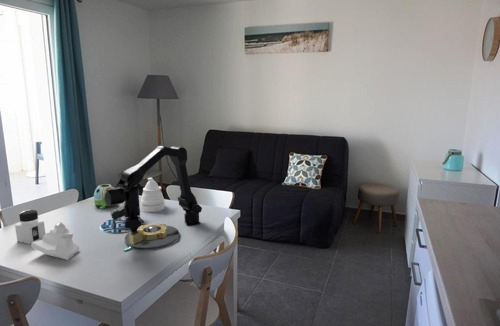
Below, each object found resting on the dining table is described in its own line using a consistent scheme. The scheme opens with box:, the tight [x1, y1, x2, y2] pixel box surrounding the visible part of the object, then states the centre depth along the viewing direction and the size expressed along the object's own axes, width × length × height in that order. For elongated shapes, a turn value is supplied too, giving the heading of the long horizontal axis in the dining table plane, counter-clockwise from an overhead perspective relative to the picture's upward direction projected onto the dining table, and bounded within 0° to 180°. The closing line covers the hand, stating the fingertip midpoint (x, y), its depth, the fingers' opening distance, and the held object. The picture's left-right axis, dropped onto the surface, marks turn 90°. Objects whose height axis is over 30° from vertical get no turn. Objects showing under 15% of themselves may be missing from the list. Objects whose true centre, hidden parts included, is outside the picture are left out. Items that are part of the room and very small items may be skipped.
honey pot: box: [140, 177, 166, 213], centre depth 184 cm, size 13×13×18 cm
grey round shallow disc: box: [123, 224, 180, 253], centre depth 145 cm, size 23×23×5 cm
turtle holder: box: [93, 183, 119, 210], centre depth 188 cm, size 12×18×12 cm
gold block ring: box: [129, 222, 167, 244], centre depth 144 cm, size 19×15×4 cm
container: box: [14, 209, 46, 245], centre depth 143 cm, size 8×8×13 cm
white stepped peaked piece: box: [30, 221, 80, 261], centre depth 130 cm, size 12×15×14 cm
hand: (133, 235), depth 140 cm, fingers closed
